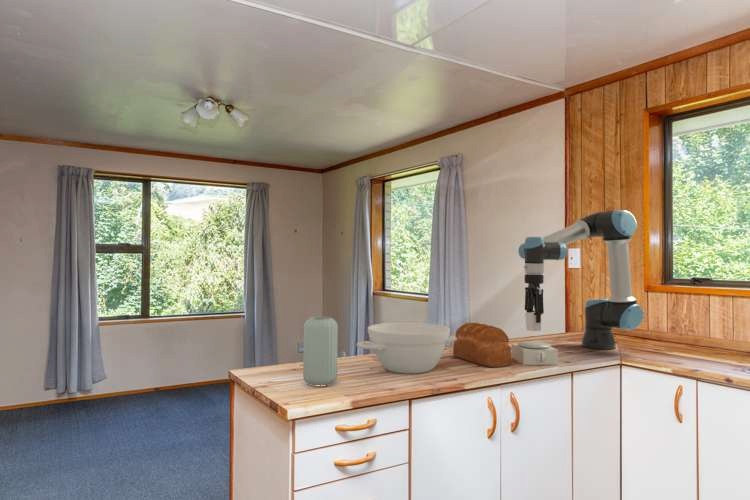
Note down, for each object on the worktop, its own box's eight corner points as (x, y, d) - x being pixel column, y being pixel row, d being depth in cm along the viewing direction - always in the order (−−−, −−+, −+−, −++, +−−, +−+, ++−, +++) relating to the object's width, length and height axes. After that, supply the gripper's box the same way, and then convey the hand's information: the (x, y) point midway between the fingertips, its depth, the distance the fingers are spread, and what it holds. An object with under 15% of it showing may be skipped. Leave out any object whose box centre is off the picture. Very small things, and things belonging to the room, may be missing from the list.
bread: (475, 353, 221) (475, 319, 221) (516, 365, 197) (516, 326, 197) (449, 356, 215) (449, 320, 215) (487, 369, 191) (488, 329, 191)
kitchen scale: (511, 357, 212) (511, 341, 212) (543, 357, 213) (543, 341, 213) (524, 365, 197) (524, 347, 197) (558, 364, 198) (558, 347, 198)
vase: (296, 386, 164) (297, 319, 164) (313, 378, 175) (313, 315, 175) (328, 389, 160) (328, 321, 160) (342, 381, 170) (343, 316, 171)
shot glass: (525, 328, 210) (525, 311, 210) (542, 329, 207) (542, 312, 207) (524, 330, 203) (524, 313, 203) (541, 331, 201) (541, 314, 201)
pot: (379, 385, 166) (379, 338, 166) (339, 366, 194) (340, 326, 194) (479, 371, 187) (479, 329, 187) (430, 355, 215) (431, 319, 215)
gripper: (516, 273, 215) (516, 325, 215) (534, 274, 195) (534, 333, 195) (533, 273, 216) (533, 325, 215) (552, 274, 196) (552, 332, 196)
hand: (533, 329), depth 205 cm, fingers closed on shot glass, 7 cm apart
